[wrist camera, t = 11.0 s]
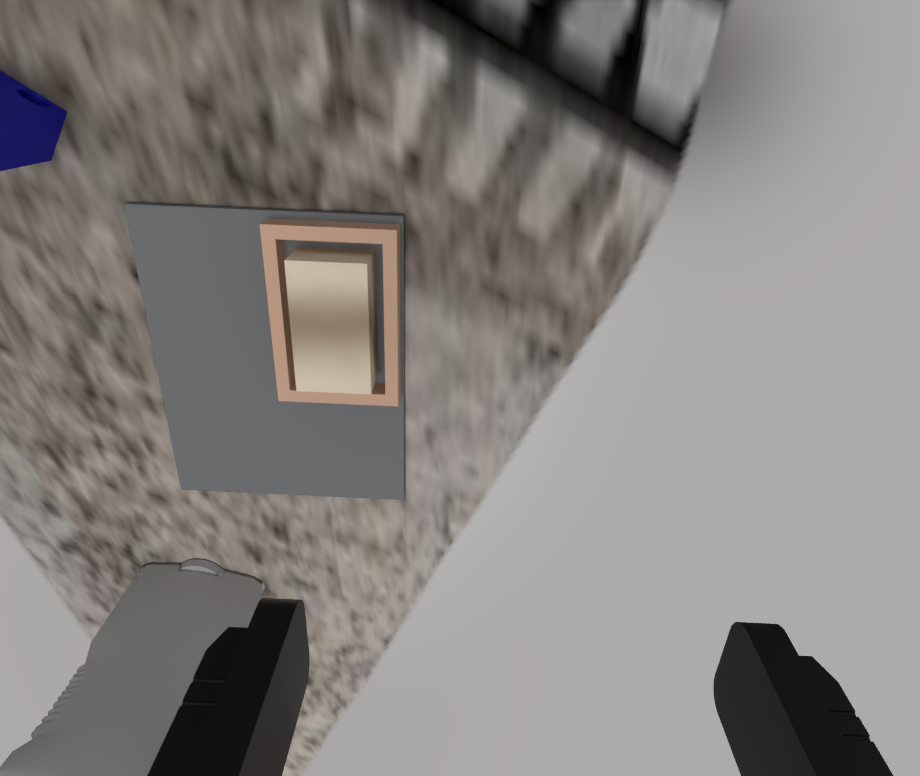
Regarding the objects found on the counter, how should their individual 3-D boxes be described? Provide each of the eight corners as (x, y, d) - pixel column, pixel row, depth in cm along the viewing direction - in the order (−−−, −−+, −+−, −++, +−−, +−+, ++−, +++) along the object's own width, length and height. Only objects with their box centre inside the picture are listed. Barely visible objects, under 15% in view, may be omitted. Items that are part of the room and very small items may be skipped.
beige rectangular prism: (378, 372, 40) (371, 394, 37) (308, 369, 40) (296, 391, 37) (375, 249, 36) (366, 263, 34) (298, 246, 36) (284, 260, 34)
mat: (127, 202, 36) (123, 203, 35) (404, 214, 36) (403, 216, 35) (184, 485, 45) (181, 489, 45) (404, 495, 45) (404, 499, 45)
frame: (267, 218, 36) (259, 224, 34) (399, 224, 36) (396, 230, 34) (285, 390, 41) (278, 401, 39) (400, 395, 41) (398, 406, 39)
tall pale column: (137, 588, 50) (-84, 923, 30) (133, 549, 48) (-105, 879, 28) (269, 605, 50) (137, 946, 31) (270, 568, 48) (130, 905, 29)
